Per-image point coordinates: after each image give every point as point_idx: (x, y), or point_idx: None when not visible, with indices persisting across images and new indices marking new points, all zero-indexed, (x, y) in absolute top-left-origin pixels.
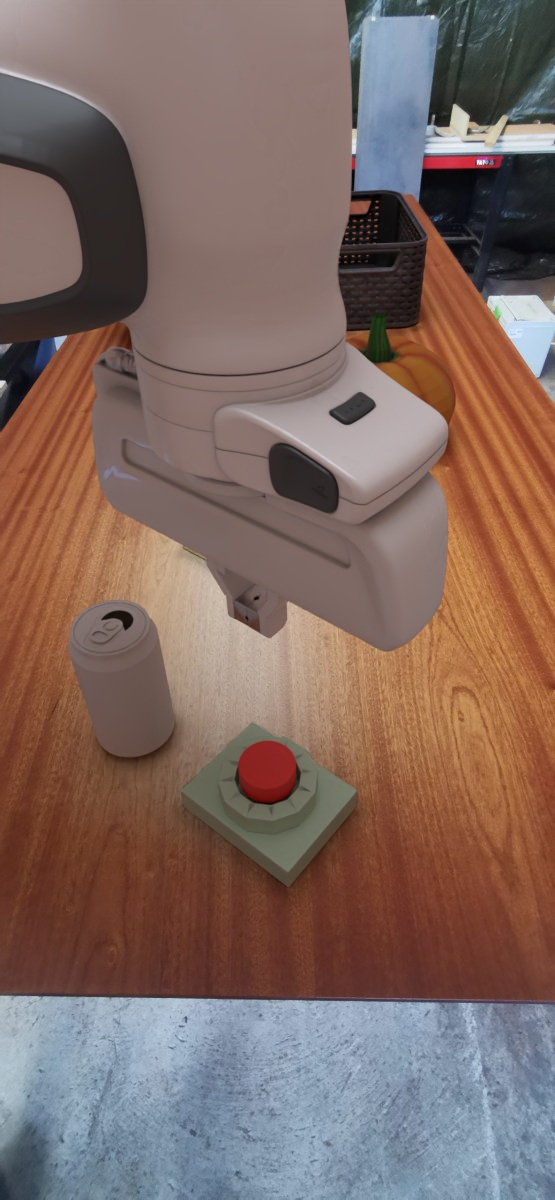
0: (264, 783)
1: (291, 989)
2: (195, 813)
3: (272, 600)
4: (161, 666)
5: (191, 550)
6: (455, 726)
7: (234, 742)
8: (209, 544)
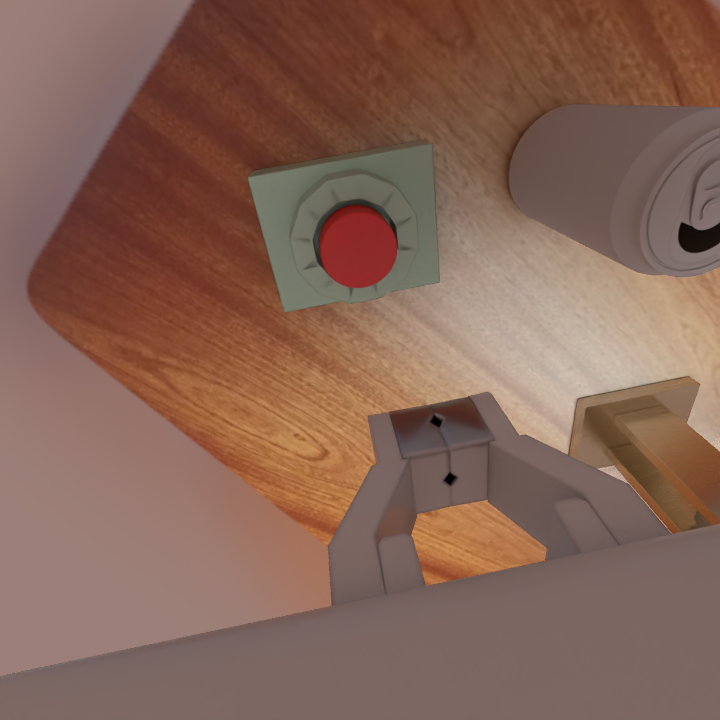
0: (337, 229)
1: (142, 82)
2: (402, 144)
3: (353, 544)
4: (581, 236)
5: (677, 381)
6: (293, 427)
7: (434, 246)
8: (687, 642)
